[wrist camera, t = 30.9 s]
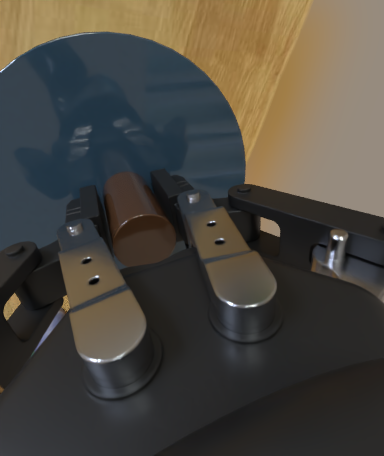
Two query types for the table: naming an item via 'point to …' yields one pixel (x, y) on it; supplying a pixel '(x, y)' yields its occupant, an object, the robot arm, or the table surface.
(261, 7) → the table surface
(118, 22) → the table surface
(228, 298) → the robot arm
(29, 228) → the lid
